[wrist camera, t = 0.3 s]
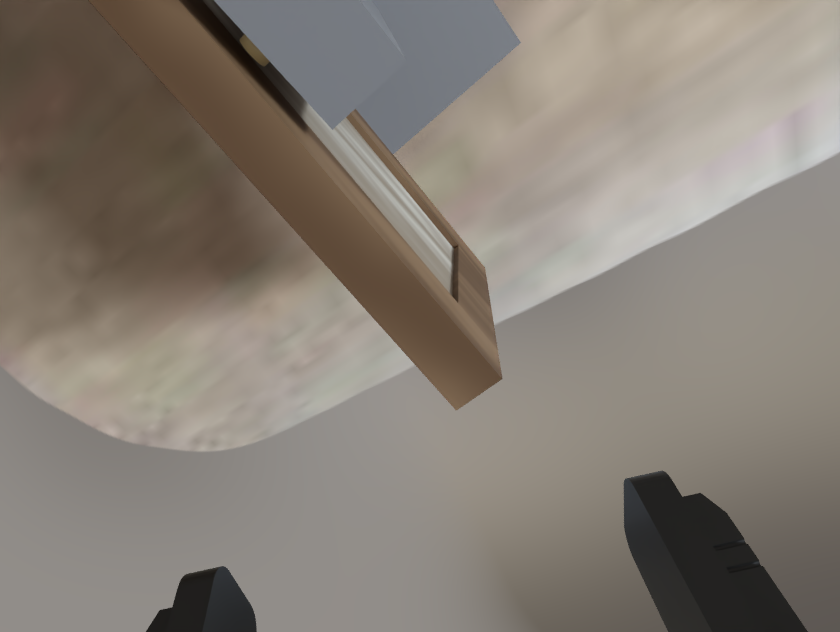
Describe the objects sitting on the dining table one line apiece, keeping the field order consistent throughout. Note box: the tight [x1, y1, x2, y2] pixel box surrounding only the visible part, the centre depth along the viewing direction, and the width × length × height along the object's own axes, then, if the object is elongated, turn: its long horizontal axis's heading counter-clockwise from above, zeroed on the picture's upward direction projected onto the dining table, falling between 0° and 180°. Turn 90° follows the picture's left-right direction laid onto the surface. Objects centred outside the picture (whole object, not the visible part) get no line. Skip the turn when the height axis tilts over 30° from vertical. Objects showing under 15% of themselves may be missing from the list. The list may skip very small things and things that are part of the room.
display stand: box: [214, 0, 521, 154], centre depth 25 cm, size 16×20×22 cm
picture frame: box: [88, 0, 502, 410], centre depth 23 cm, size 2×26×14 cm, turn 39°
